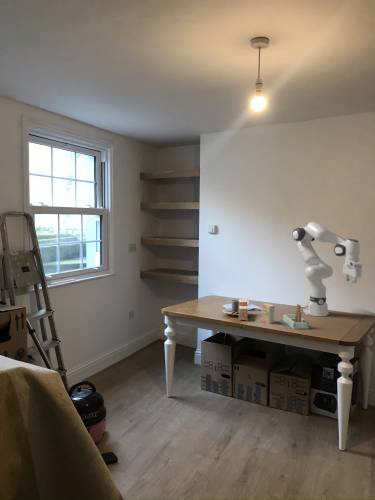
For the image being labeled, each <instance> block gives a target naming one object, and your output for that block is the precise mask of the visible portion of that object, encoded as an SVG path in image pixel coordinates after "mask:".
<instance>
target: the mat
mask: <svg viewBox="0 0 375 500" xmlns="http://www.w3.org/2000/svg"><path fill="white" fill-rule="evenodd" d="M276 321H277V322H278V323H279V324H281V326H283V327H284V328H285V329H287V330H288V329H289V330H291V329H293V328H292V327H291V326H290V325H288V324H287V323H286V322H285V321H284V320H283V319H277V320H276ZM309 329H315V327H314V326H312V325H311V324H310V323H309ZM293 330H294V329H293Z"/></svg>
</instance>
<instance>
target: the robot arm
mask: <svg viewBox="0 0 375 500" xmlns="http://www.w3.org/2000/svg"><path fill="white" fill-rule="evenodd" d="M292 239H294V240H293V241H296V242H297V249H298V251H299V254H300V256H301V258H302V259H303V261H304V263H305V264H306V265H308V267H306V268H305V270H304V276H305V277H306V279H308V281H309V284H310V295H309V300H308V302H307V303H306V304H305V305H304V308H302V311H303V313H304V314H305V315H308V316H314V317H326V316H328V315H330V312H329V309H328V307H329V306H328V303H327V297H326V296H327V295H326V294H327V287H326V286H325V285H324V284H323V280H325V279H328V278H330V277H332V275H334V269H333V268H332V266H331V265H329V264H328V263H326V262H325V261H324V260H323V259H321V258H320V256H319V255H318V254H317V251H316V249H315V248H314V246H313V245H312V242H314V241H315V240H316V241H318V242H321V243H329V244H333V245H334V247H333V253H334V254H335V256H336V257H341V258H343V257H344V258H345V259H344V260H345V261H344V263H343V266H342V274H343V275H345V278H346V282H350V281H351V279H350V277H353V280H352V283H353V284H357V281H358V278H362V272H363V268H362V267H363V263H362V262H361V261H360V256H359V255H360V251H361V250H360V248H361V247H360V242H359V240H357V239H355V238H349V239H348V238H347V239H345V238H343V237H341V236H339V235H338V234H336V233H334V232H332V231H331V230H329V229H327V228H326V227H325V226H323V225H322V224H321V223H318V222H316V221H310V222H308V224H307V225H306V226H302V227H296V228H294V229H293V231H292Z"/></svg>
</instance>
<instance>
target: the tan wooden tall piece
mask: <svg viewBox="0 0 375 500" xmlns="http://www.w3.org/2000/svg"><path fill="white" fill-rule="evenodd" d="M294 314H295V321H294V322H295V323H301V318H302V312H301V304H296V309H295V313H294Z"/></svg>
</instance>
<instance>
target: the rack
mask: <svg viewBox="0 0 375 500" xmlns="http://www.w3.org/2000/svg"><path fill="white" fill-rule="evenodd" d="M282 320H284V321H285V322H286V323H287V324H288V325H290V326H291V327H292V328H293V330H303V329H304V330H305V329H306V330H309V329H310V328H309V324H310V322H308V321H307V320H305V319H304V318H303V317H301V323H295V322H294V321H295V313H294V314H293V313H291V314H288V313H287V314H282Z"/></svg>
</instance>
